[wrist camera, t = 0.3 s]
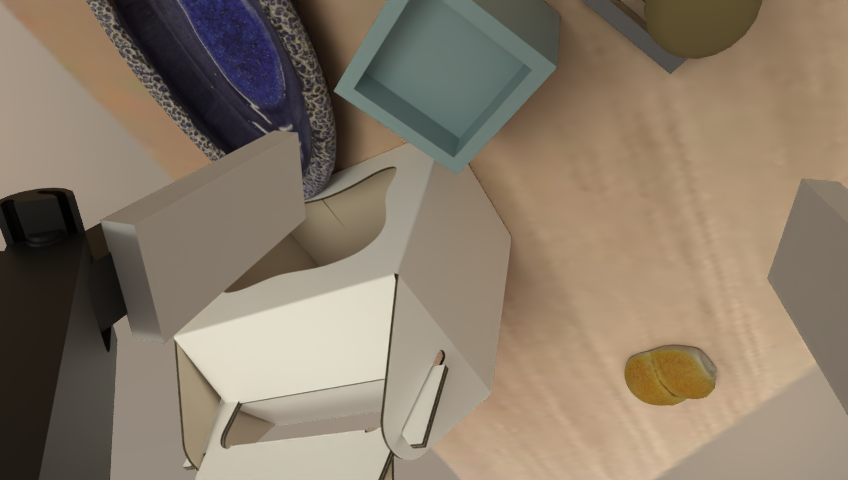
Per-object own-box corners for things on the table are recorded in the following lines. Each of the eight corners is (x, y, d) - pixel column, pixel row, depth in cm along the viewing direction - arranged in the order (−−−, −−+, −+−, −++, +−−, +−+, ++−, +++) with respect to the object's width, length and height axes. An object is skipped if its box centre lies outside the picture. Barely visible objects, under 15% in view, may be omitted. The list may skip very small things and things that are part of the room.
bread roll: (610, 358, 61) (612, 388, 58) (688, 333, 56) (695, 365, 53) (648, 396, 64) (652, 426, 61) (726, 375, 59) (734, 407, 56)
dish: (252, 190, 55) (229, 221, 51) (14, -167, 37) (-47, -157, 33) (389, 161, 49) (374, 194, 45) (185, -279, 31) (134, -281, 27)
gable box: (336, 287, 62) (221, 550, 42) (261, 203, 55) (81, 466, 35) (515, 236, 52) (476, 554, 31) (448, 124, 45) (345, 435, 25)
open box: (442, -83, 35) (414, -45, 29) (560, 14, 37) (557, 67, 31) (369, 39, 41) (333, 91, 35) (473, 114, 44) (457, 175, 38)
